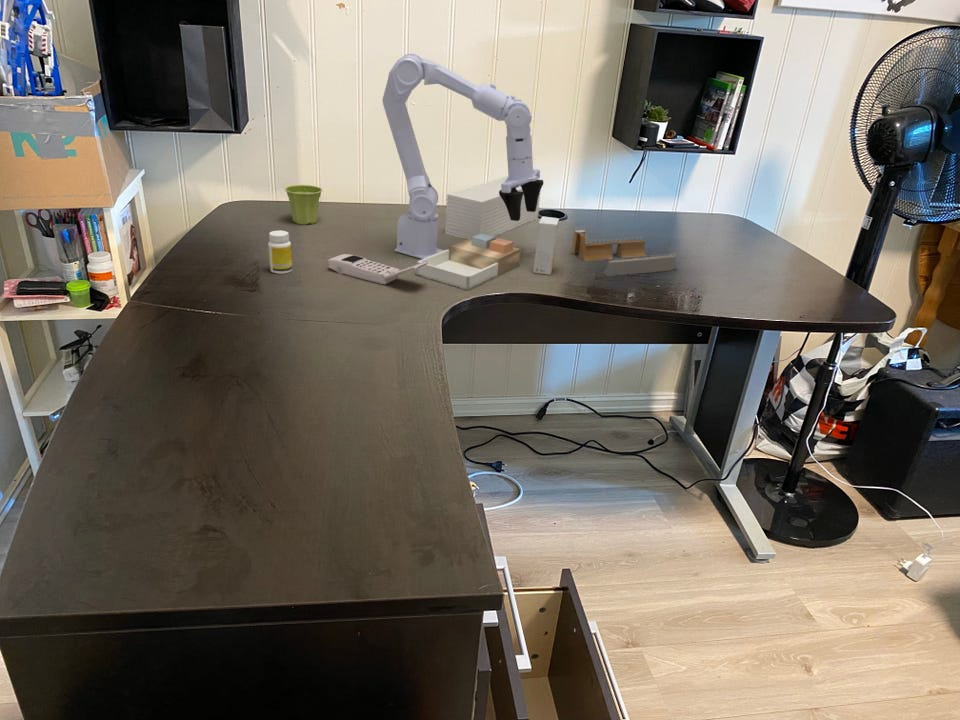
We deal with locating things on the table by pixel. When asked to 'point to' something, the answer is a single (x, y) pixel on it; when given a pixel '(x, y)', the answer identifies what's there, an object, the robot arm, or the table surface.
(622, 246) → the skate ramp
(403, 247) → the robot arm
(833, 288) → the table surface
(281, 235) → the supplement bottle
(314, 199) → the plant pot
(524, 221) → the stack of papers
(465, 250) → the oak block
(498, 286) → the table surface
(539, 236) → the skincare box
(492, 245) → the terracotta tile
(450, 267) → the white tray
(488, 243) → the blue tile
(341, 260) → the mobile phone
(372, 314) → the table surface
